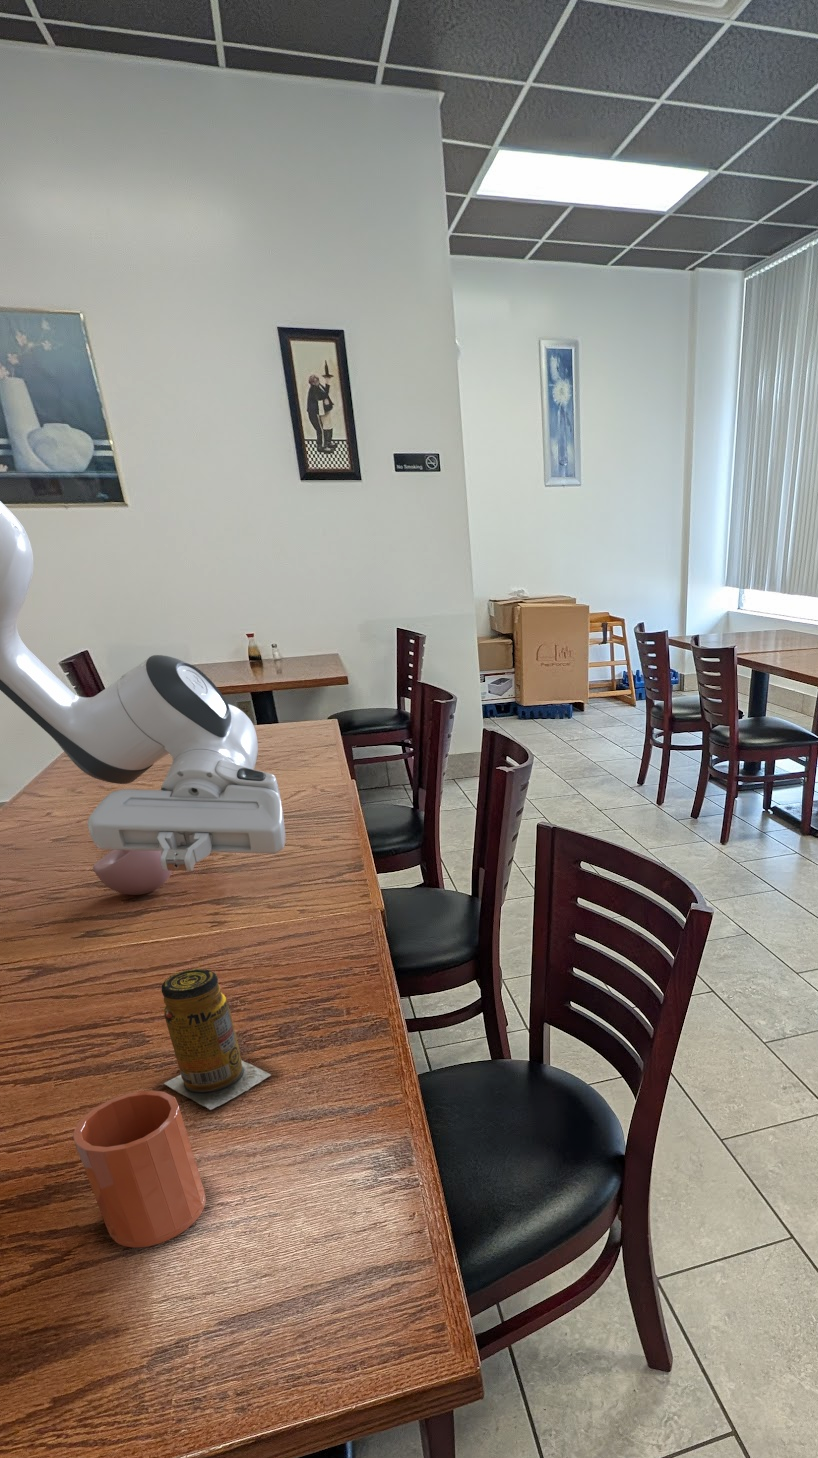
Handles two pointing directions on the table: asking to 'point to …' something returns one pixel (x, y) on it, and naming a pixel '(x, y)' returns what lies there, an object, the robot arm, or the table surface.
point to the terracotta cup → (141, 1167)
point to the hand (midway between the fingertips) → (176, 865)
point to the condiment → (205, 1040)
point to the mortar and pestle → (132, 871)
